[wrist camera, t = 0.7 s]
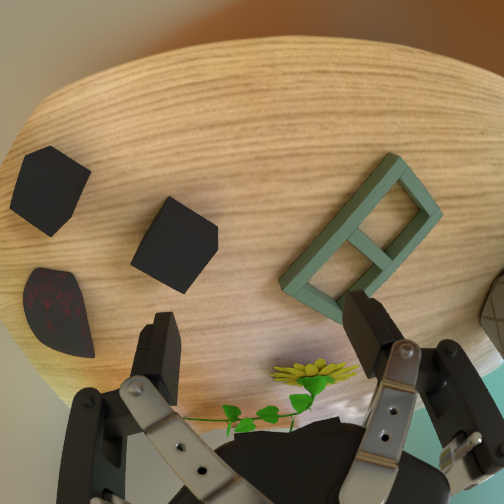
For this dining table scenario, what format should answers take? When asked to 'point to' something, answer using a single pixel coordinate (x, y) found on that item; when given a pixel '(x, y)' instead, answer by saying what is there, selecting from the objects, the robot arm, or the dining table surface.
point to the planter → (495, 315)
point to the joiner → (363, 238)
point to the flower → (306, 376)
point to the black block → (48, 189)
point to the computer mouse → (57, 312)
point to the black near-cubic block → (176, 246)
